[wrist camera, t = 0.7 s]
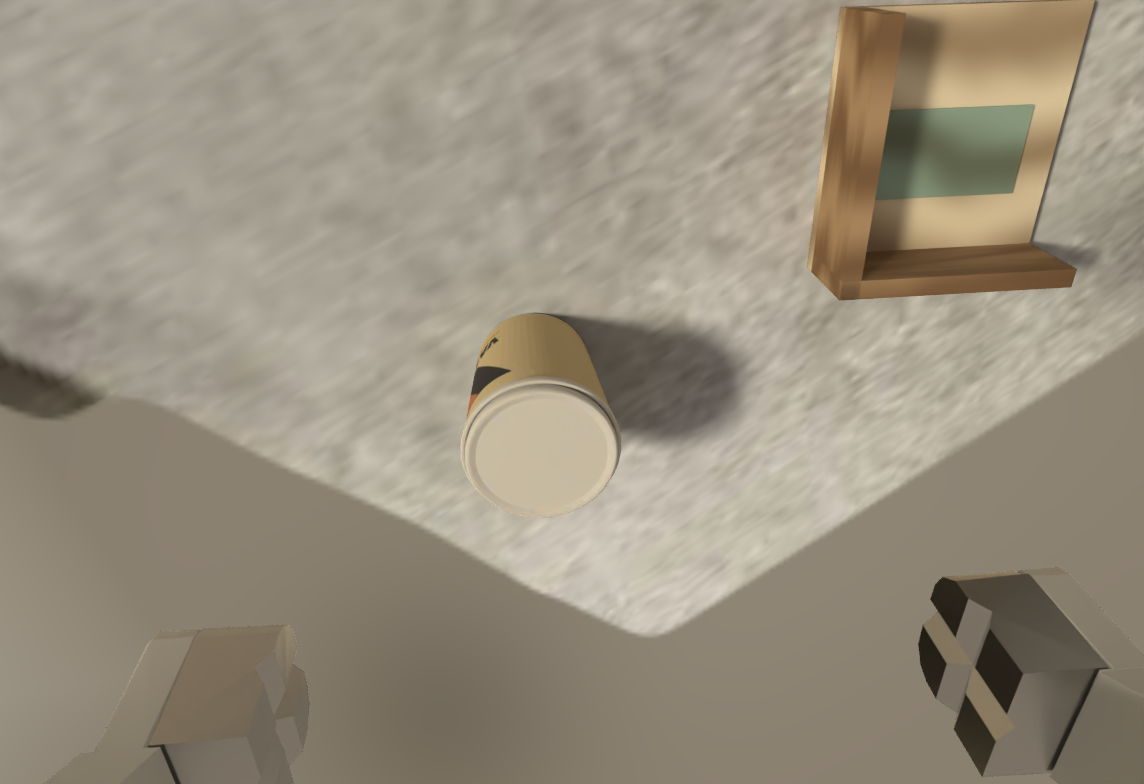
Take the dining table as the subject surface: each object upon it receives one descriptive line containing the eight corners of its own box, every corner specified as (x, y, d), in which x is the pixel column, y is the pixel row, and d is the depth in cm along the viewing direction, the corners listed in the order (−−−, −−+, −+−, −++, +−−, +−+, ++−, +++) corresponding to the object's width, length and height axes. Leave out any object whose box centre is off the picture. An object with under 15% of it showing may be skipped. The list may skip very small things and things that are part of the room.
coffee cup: (470, 295, 53) (465, 380, 42) (608, 306, 54) (635, 392, 43) (462, 415, 57) (455, 518, 47) (589, 423, 58) (610, 526, 48)
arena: (840, 7, 46) (883, 14, 41) (1086, -1, 47) (1157, 4, 42) (807, 267, 54) (839, 300, 49) (1018, 256, 55) (1071, 287, 50)
